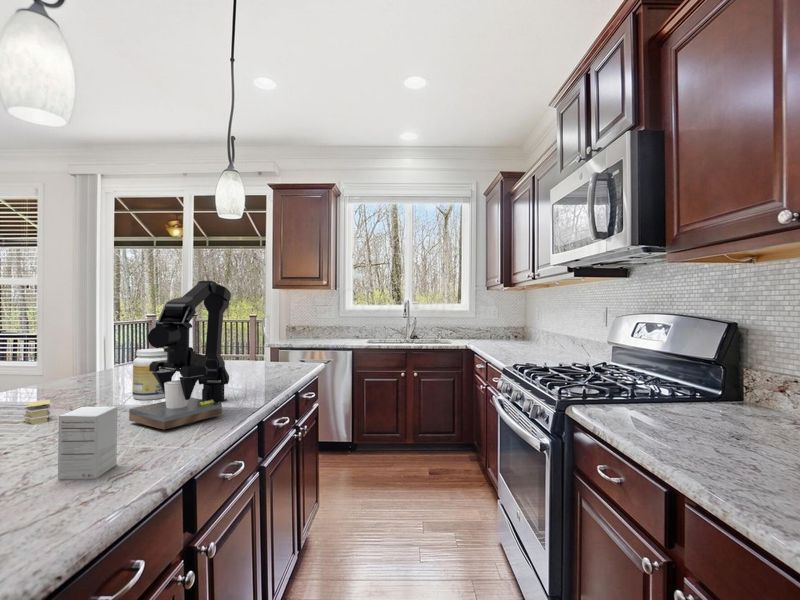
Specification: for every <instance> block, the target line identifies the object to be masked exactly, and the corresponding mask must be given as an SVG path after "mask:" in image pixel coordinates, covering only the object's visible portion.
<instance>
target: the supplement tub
mask: <svg viewBox="0 0 800 600" xmlns="http://www.w3.org/2000/svg"><path fill="white" fill-rule="evenodd" d="M135 356H136V358H134V360H133V361H132V393H131V394H132V397H133V398H134V399H136V400H139V401H141V400H142V401H143V400H144V401H151V400H152V401H153V400H160V399H163V398H165V394H164V392H163V390H162V388H161V386H160V385H159V383H158V381H157V379H156V378H155V376H154V375H153V374H152V373H153V372H152V371H149V365H150V364H151V363H152V362H153V361H161V360H167V352H164V348H141V349H137V350H136V352H135Z"/></svg>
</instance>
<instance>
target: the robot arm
mask: <svg viewBox="0 0 800 600" xmlns="http://www.w3.org/2000/svg"><path fill="white" fill-rule="evenodd" d="M231 294H232V293H231V291H230V290H229V289H228V288H227V287H225V286H223V285H222V284H221V285H220V284H219V283H216V282H215V281H214V280H199V281H197V284H196V285H194V286H193V287H192V288H190V290H189V291H188V292H187V293H185V294H183V296H181V297H177V298H173V299H171V300H169V301H166V303H165V304H164V306H163V308H162V309H161V312H160V314H159V316H158V319H157V321H156V322H155V327H153V328H152V329H150V330H149V332H148V335H147V342H148V343H149V345H151V346H152V347H153V348H154V349H157V348H160V349H164V352H167V360H161V361H153V362H152V363H151V364H150V365H149V371H152V372H153V373H152V374H153V375H154V376H155V378H156V379H157V381H158V383H159V385H160V386H161V388H162V390H163V392H164V394H165V387H164V383H165V382H169V381H173V380H172V379H173V377H174V375H175V374H176V372H179V374H180V376H179V377H178V378H179V380H180V382H181V386H182V390H183V394H184V397H185V400H189V399H190V397H192V393H193V391H194V388H195V386H196V383H197V382H198V385H199V386H200V385H201V386H202V389H201V399H202V400H206V401H208V400H213V401H214V402H216V403H222V402H226V401H228V399H227V398H225V385H228V384H229V383H230V375H229V373H228V370H227V369H226V361H225V360H224V358H223V357H222V355H221V351H222V339H223V338H222V337H223V322H224V314H225V312H226V310H227V309H228V307H229V305H230V300H231V299H232V298H231V297H232V295H231ZM201 303H203V305H204V307H205V309H206V312H207V322H206V323H207V325H206V326H207V327H206V339H205V340H206V341H205V353H204V354H200V353H197V352H196V351H194V348H193V347H190V329H191V328H193V325H192V323H190V322H191V321H192V319H193V317H194V316H195V315H196V314H197V311H196V308H197V307H198V306H199V305H200V304H201Z"/></svg>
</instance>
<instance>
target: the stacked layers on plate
mask: <svg viewBox="0 0 800 600" xmlns="http://www.w3.org/2000/svg"><path fill="white" fill-rule="evenodd" d="M50 403H51V400H50V399H40V400H35V401H29V402H24V403H23V404H24V405H25V406H27V407H24V408H23V410H24V411H25V414H24V415H23V418H24V419H25V423H29V424H30V425H38V424H44V423H47V422H48V417H50V414H51V411H49V410H50V408H51V404H50Z"/></svg>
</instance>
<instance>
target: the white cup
mask: <svg viewBox="0 0 800 600" xmlns="http://www.w3.org/2000/svg"><path fill="white" fill-rule="evenodd" d="M164 387H165V397H164V398H165V400H164V401H166V407H167V408H172V409H174V408H183V407H186V406H188V400H185V397H184V394H183V390H182V386H181V382H180V379H178V380H172V381H169V382H165V383H164Z"/></svg>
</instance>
